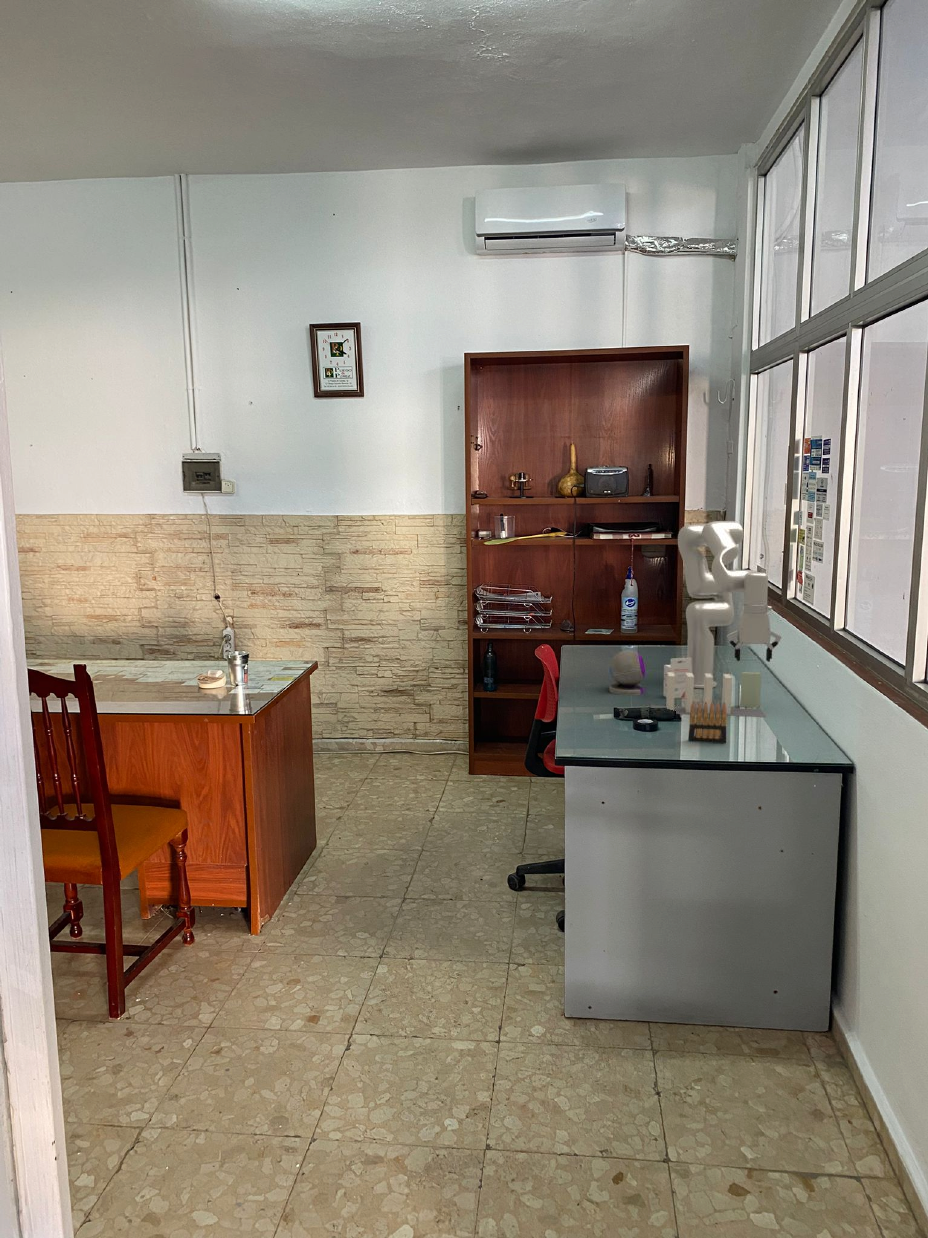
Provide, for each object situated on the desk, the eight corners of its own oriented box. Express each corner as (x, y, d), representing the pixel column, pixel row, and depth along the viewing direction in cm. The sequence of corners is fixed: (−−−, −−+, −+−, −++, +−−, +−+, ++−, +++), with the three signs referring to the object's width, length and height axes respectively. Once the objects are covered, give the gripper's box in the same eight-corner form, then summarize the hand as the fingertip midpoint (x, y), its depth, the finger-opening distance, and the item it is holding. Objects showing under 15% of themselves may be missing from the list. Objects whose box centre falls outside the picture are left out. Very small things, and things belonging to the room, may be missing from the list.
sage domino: (740, 707, 307) (741, 672, 305) (758, 707, 306) (760, 672, 304) (740, 708, 305) (742, 673, 303) (759, 709, 304) (761, 673, 302)
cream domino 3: (705, 713, 296) (706, 677, 294) (703, 708, 302) (704, 673, 300) (711, 713, 295) (713, 677, 294) (709, 709, 301) (710, 673, 300)
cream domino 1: (667, 711, 297) (668, 676, 296) (666, 707, 303) (667, 672, 301) (673, 712, 297) (675, 676, 295) (672, 707, 303) (673, 672, 301)
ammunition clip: (725, 741, 266) (727, 701, 264) (726, 743, 264) (728, 703, 262) (688, 739, 268) (689, 700, 266) (688, 741, 266) (690, 701, 264)
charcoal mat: (650, 707, 306) (650, 705, 306) (761, 711, 301) (761, 709, 301) (652, 714, 296) (652, 712, 296) (766, 718, 291) (766, 717, 291)
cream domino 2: (686, 712, 297) (687, 676, 295) (684, 708, 302) (685, 672, 301) (692, 712, 296) (694, 676, 294) (690, 708, 302) (692, 673, 300)
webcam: (644, 696, 322) (646, 654, 320) (608, 694, 324) (609, 653, 322) (645, 688, 335) (646, 648, 332) (609, 686, 337) (611, 646, 335)
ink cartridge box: (684, 695, 323) (685, 655, 321) (691, 698, 318) (693, 657, 316) (662, 697, 321) (663, 656, 318) (669, 700, 316) (670, 658, 314)
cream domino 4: (724, 714, 295) (725, 677, 293) (721, 709, 301) (723, 673, 299) (730, 714, 295) (732, 678, 293) (727, 709, 300) (729, 674, 299)
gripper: (779, 608, 303) (777, 659, 305) (726, 608, 305) (724, 658, 307) (784, 611, 295) (782, 663, 297) (729, 610, 298) (727, 662, 300)
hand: (753, 660), depth 302 cm, fingers open, 9 cm apart
